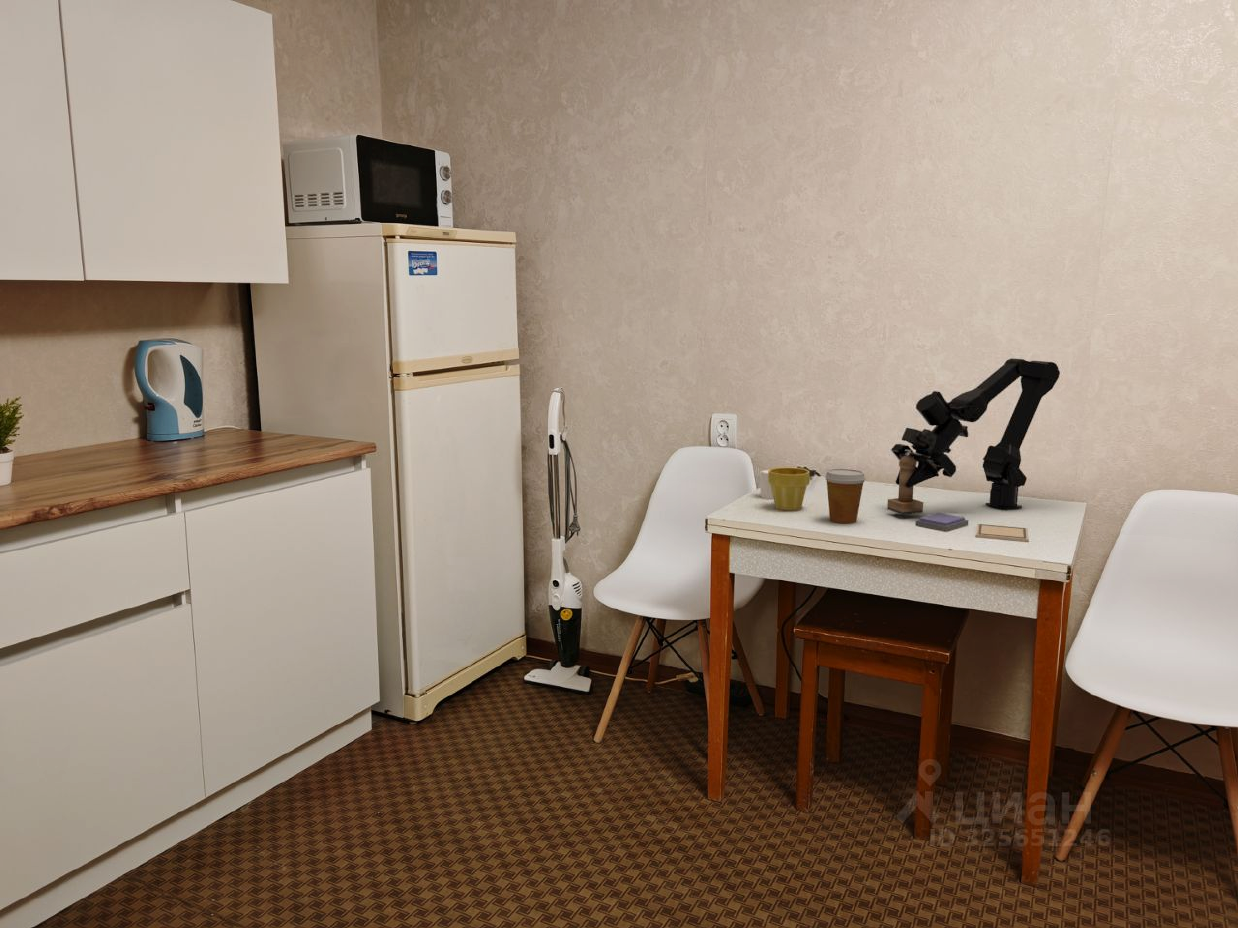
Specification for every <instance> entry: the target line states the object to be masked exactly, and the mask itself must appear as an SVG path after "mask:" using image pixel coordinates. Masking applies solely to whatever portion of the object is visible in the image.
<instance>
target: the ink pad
mask: <svg viewBox="0 0 1238 928" xmlns="http://www.w3.org/2000/svg"><path fill="white" fill-rule="evenodd" d="M969 522H970V521H969V519H966V517H964V516H960V515H959V516H958V515H954V514H947V513H943V512H936V513H933V514H930V515H926V516H923V517H922V516H921V517H919V519H916V520H915V526H917V527H922V528H926V529H932V530H935V531H942V532H945V531H946V532H951V531H954V530H956V529H961V528H963V527H966V526H969Z"/></svg>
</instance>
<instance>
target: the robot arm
mask: <svg viewBox="0 0 1238 928" xmlns="http://www.w3.org/2000/svg"><path fill="white" fill-rule="evenodd" d="M1060 374H1061V371H1060V368H1059V366H1058V365H1057V363H1055V362H1052V361H1044V360H1043V361H1042V360H1026V359H1023V358H1008V359H1007V360H1006V361H1005V362H1004V364H1003V365H1002V366H1001V367H999V368H998V369H997V370H995V371H993V373H992V374H991V375H990V376H988V377H987V378H986V379H984V380H983V381H982V382H981V383H980V384H979V385H977V386H976V387H975V388H973V389H972V390H969V391H965V392H963V393H961V394H959V395H957V396H955V397H954V398H952V399H951V400H950V401H948V402H947V401H946V399H945V398H944V397H943V396H944V395H943V394H942V393H941V392H940V391H936V390H933V391H932V393H930V394H927V395H925V396H924V397H922V398H920V399H918V401H917V402H916V405H915V409H916V411H918V413H919V414H920V416H922V418H923V419H924V420H925V422H926V423H927V425H929V426H934V428H933V429H932V430H930V429H927V428H924V429H923V430H919V429H915V428H910V427H906V428H905V430H904V433H903V435H902V437H901V441H903V442H907V443H909V444H911V447H910V446H909V445H906V444H902V443H896V444H895V443H894V446H892V448H891V449H890V451H891V452H892V453H893V455H894V456H895V457H896V458H897V459H898V461H900V459H901V458H902V457H903V456H906V455H909V456H912V457H913V458H914V459H915V461H916V465H917V466H915V468H914V472H913V474H912V475H911V477H910V478H909V479H908V481H907V482H906V484H905V486H906V487H907V488H909V487H911V486H913V487H914V486H917V484H920V483H922V482H924V481H928V480H930V479H933V478H935V477H937V478H938V477H939V476H940V474H939V472H940V471H941V470H942V475H943V476H944V477H948V478H952V477H953V475H955V473H956V472H957V465H956V464H955V463H954V462H953V461H952V459H951V458H950V456H948V455H947V454H950V453H951V451H952V449H951V448H950V447H951V446H952V445H953V443H954V442H955V441H956V440H957V438H959V437H962V438H963V437H964V438H968V437H969V431H968V430H969V429H968V426H967V425H964V424H962V423H961V421H963V422H967V423H968V422H969V423H975V422H977V421H979V419H980V418H982V416H983V415H984V414H985V412H987V409H988V406H989V403H991V401H993V400H994V399H995V398H996V397H997V396H998V395H1000V394H1001V393H1002V392H1003V391H1004V390H1006V389H1007V388H1008V387H1009V386H1010V385H1012V384H1013V383H1014V382H1015V381H1016V380H1018V379H1019V378H1020V387H1021V393H1020V395H1019V397H1018V400H1017V402H1016V405H1015V406H1014V409H1013V411H1012V414H1011V417H1010V418H1009V420H1008V423H1007V425H1006V427H1005V429H1004V433H1002V434H1003V435H1002V437H1001V440H1000V441H999V442H998V443H997V444H996V445H989V446H988V447H987V449H986V453H985V455H984V457H982V460H983V463H982V468H983V471H984V474H985V479H986V482H991V489H990V493H989V502H985V504H984V505H985V506H988V507H991V508H992V507H993V508H996V509H1001V510H1003V511H1005V510H1015V509H1022V507H1023V505H1020V504H1018V497H1019V488H1021V487H1023V486H1025V485H1026V482H1027V480H1028V479H1027V476H1026V475H1025V473H1024V472H1023V471H1022V469H1021V467H1020V466H1021V462H1022V457H1021V456H1022V455H1021V447H1022V444H1023V442H1024V440H1025V437H1026V435H1027V433H1028V431H1029V427H1030V425H1031V423H1032V421H1033V419H1034V417H1035V414H1036V412H1037V409H1038V407H1039V405H1040V403H1041V400H1042V398H1043V397H1044V396H1046V395H1047V394H1048V393H1049V392H1050V391H1051V390H1053V388H1054V387H1055V385H1056V383H1057V382H1058V379H1059V378H1060ZM911 448H912V449H911ZM914 450H915V451H914ZM899 477H900V470H899V472H898V474H897V477H896V479H895V484H896V485H897V486H899Z"/></svg>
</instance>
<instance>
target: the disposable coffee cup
mask: <svg viewBox="0 0 1238 928" xmlns="http://www.w3.org/2000/svg"><path fill="white" fill-rule="evenodd" d="M824 478H825V481H826V488H827V502H828V513H829V514H828V515H829V521H830V522H833V523H836V524H847V525H848V524H854V523H856V522H857V519H858V514H859V510H860V509H859V507H860V503H861V498H862V492H863V486H864V483H865V480H866V476H865V473H864V471H861V470H858V469H854V468H853V469H851V468H832V469H831V468H830V469H828V470H827V471H826V474H825V475H824Z"/></svg>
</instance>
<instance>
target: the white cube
mask: <svg viewBox="0 0 1238 928" xmlns="http://www.w3.org/2000/svg"><path fill="white" fill-rule="evenodd" d="M769 470H770V469H763V470H762V469H761V470H760V471H759V489H760V497H761V498H762V499H767V500H774V498H773V493H772V488H771V484H769V480H768V472H769Z"/></svg>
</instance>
